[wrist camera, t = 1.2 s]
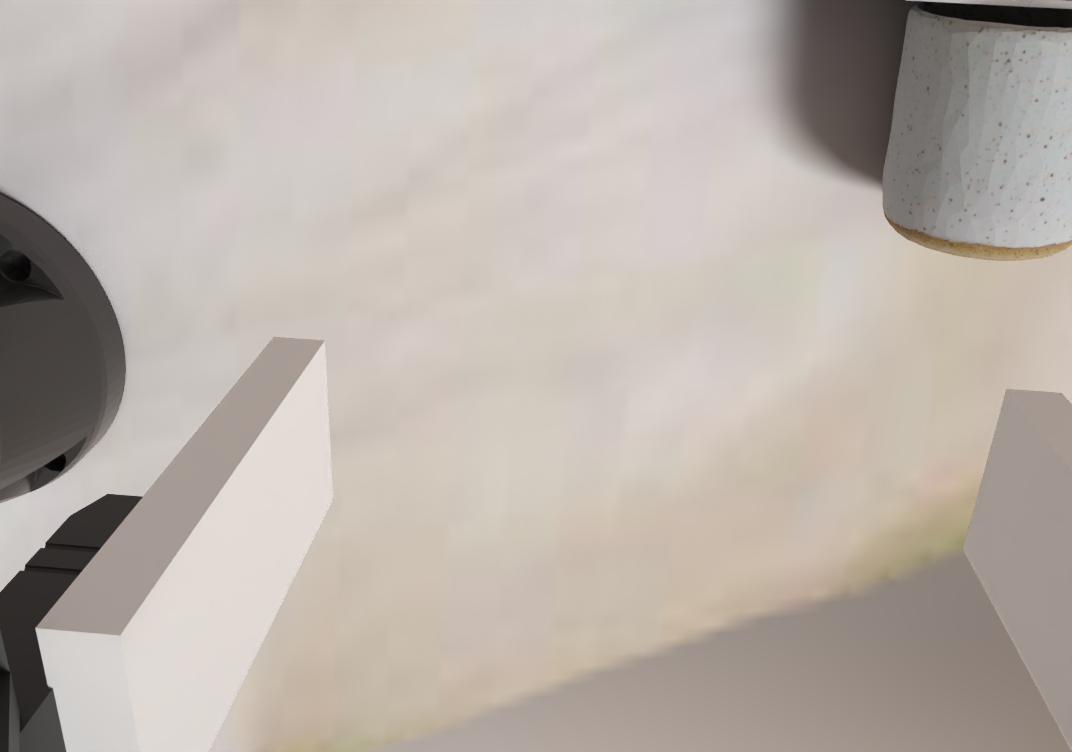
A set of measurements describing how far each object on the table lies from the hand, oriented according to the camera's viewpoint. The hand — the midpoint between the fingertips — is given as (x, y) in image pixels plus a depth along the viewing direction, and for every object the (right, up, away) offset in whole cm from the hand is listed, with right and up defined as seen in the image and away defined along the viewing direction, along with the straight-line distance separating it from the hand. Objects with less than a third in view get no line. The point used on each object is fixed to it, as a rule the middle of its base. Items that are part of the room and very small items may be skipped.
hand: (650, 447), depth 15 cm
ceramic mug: (+16, +12, +24) cm, 31 cm away
